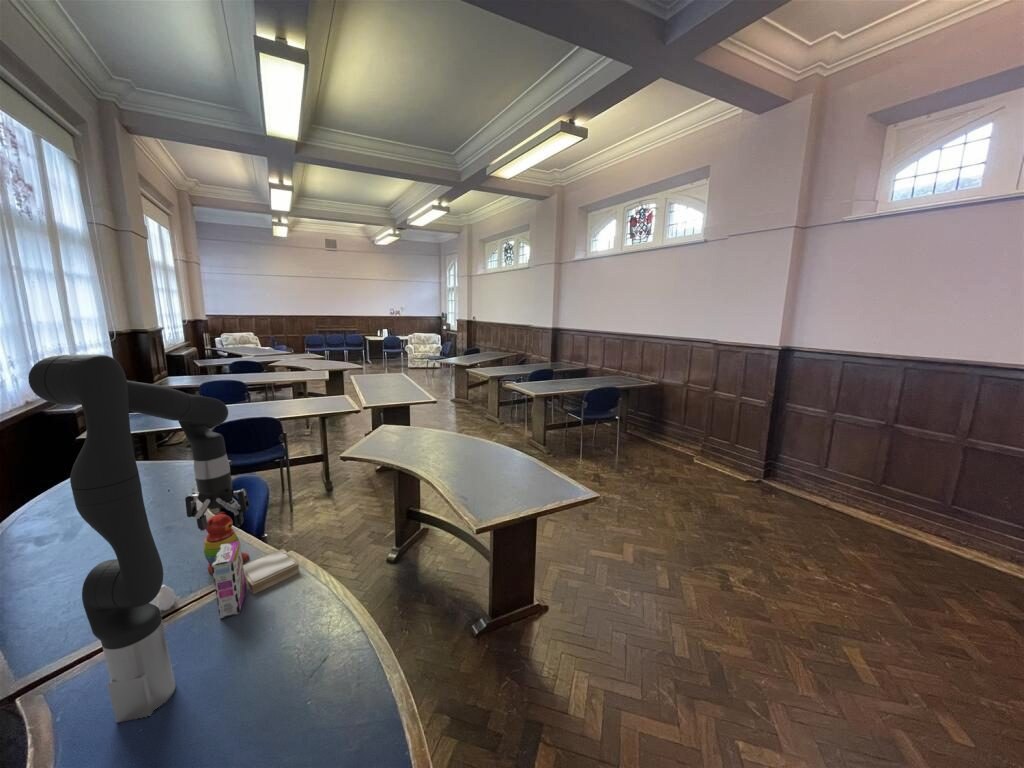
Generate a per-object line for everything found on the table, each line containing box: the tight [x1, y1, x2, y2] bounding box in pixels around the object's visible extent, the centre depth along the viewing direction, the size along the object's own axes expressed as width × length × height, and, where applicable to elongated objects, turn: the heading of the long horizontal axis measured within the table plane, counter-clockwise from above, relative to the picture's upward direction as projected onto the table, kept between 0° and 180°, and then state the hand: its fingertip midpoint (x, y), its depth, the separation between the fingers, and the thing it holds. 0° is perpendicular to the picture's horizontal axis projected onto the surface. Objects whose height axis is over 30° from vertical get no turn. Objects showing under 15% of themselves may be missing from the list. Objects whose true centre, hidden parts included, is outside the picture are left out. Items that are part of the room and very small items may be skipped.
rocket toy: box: [149, 583, 182, 611], centre depth 112 cm, size 5×5×8 cm
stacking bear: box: [203, 511, 250, 576], centre depth 130 cm, size 11×10×18 cm
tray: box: [243, 548, 300, 595], centre depth 127 cm, size 13×13×3 cm
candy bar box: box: [212, 540, 247, 619], centre depth 113 cm, size 11×5×16 cm, turn 25°
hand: (221, 527), depth 110 cm, fingers open, 8 cm apart
